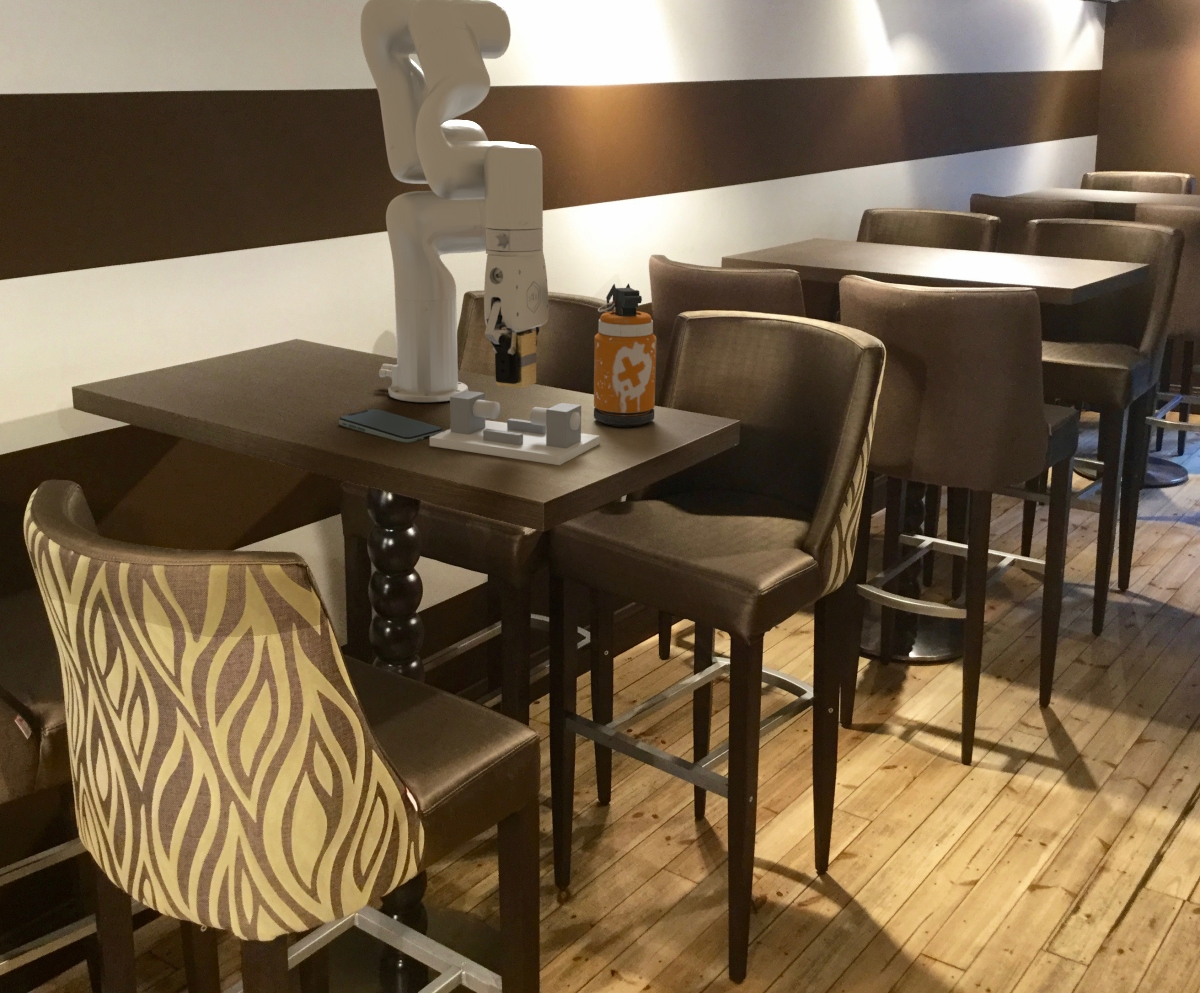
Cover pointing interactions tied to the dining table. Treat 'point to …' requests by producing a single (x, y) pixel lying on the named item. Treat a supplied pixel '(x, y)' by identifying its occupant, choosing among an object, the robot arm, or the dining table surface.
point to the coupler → (524, 359)
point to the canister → (624, 362)
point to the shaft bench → (515, 431)
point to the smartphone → (389, 425)
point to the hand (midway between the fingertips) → (515, 378)
